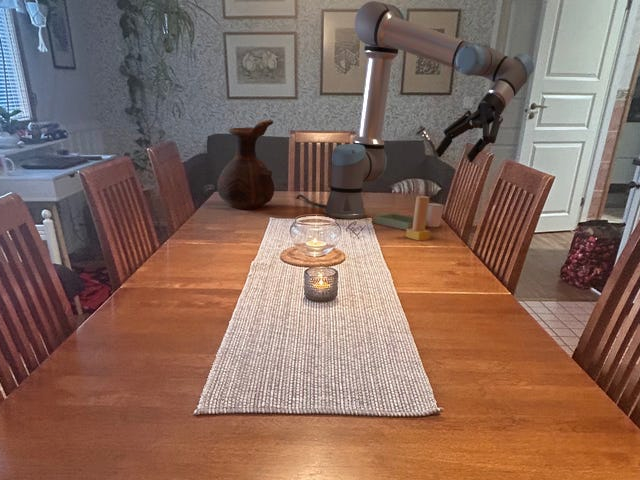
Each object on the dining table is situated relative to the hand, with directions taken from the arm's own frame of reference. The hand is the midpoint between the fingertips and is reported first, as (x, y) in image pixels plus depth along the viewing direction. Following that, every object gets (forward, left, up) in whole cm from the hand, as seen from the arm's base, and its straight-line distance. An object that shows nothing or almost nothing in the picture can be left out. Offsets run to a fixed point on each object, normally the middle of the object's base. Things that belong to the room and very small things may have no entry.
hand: (452, 156), depth 186 cm
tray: (-19, +2, -24) cm, 30 cm away
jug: (-75, -22, -24) cm, 82 cm away
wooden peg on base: (-2, -10, -24) cm, 26 cm away
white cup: (-12, +11, -24) cm, 29 cm away
